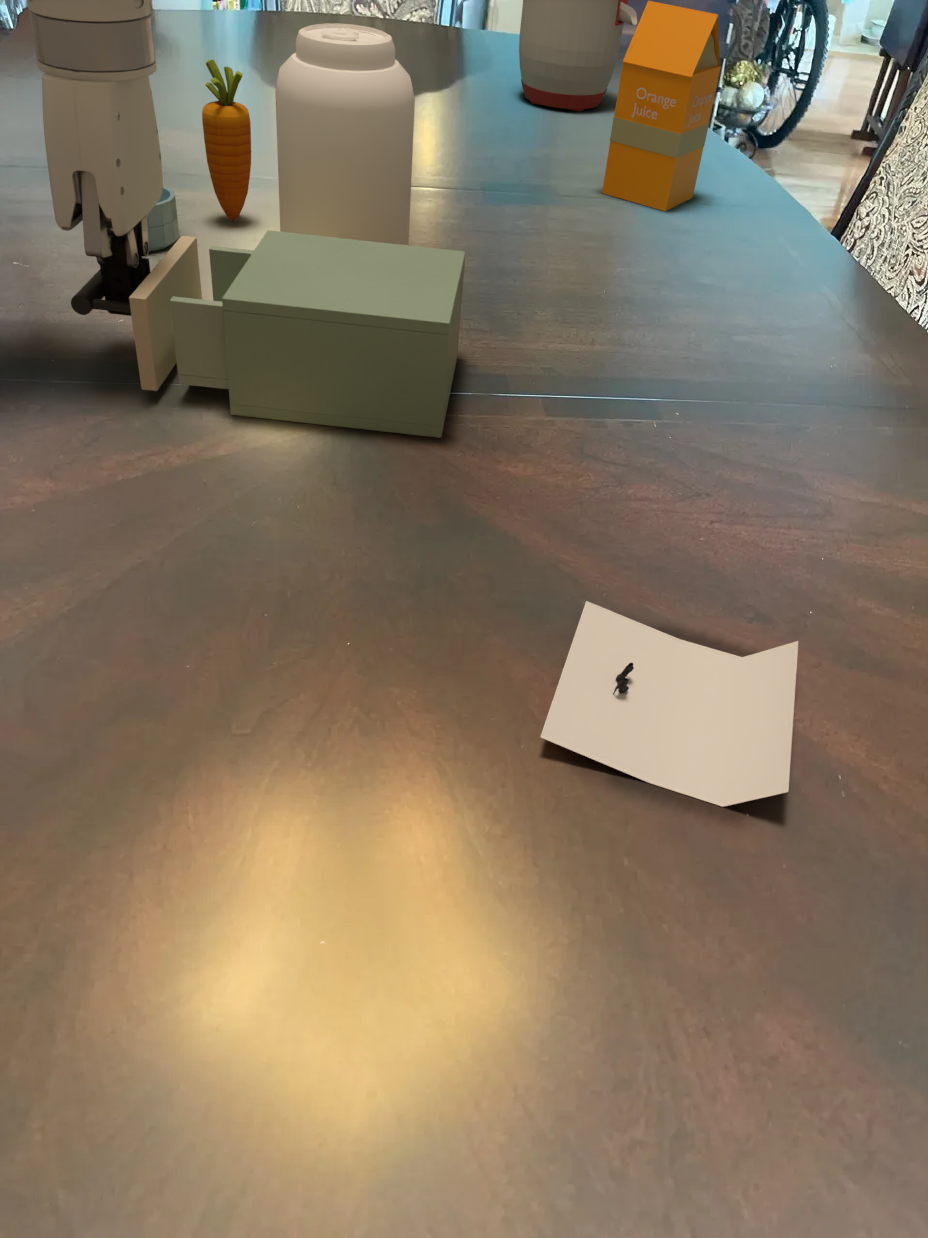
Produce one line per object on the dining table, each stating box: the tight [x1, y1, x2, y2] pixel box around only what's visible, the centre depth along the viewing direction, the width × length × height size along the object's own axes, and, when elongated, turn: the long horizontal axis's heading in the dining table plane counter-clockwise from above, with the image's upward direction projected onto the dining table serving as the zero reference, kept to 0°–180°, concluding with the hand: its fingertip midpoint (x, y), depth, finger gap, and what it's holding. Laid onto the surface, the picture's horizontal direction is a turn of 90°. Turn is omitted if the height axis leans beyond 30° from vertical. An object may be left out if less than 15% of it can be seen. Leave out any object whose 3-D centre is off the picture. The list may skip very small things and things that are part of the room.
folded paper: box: [540, 600, 799, 808], centre depth 54 cm, size 12×12×2 cm
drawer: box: [70, 235, 255, 392], centre depth 78 cm, size 20×13×7 cm, turn 85°
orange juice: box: [601, 0, 722, 212], centre depth 118 cm, size 8×9×20 cm
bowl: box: [147, 185, 180, 252], centre depth 99 cm, size 7×7×4 cm
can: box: [274, 22, 416, 246], centre depth 94 cm, size 12×12×20 cm
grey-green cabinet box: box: [222, 229, 466, 439], centre depth 78 cm, size 16×14×9 cm
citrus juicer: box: [518, 0, 638, 112], centre depth 150 cm, size 16×17×20 cm
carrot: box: [201, 59, 252, 223], centre depth 101 cm, size 5×5×15 cm
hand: (131, 310), depth 78 cm, fingers closed
